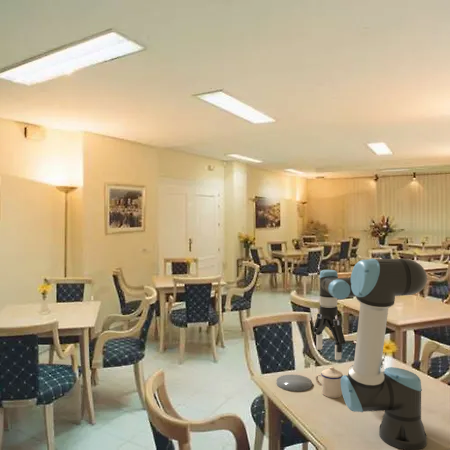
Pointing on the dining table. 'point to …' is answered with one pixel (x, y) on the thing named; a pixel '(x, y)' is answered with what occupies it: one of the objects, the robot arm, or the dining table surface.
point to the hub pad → (294, 382)
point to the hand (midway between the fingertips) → (328, 354)
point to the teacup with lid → (331, 382)
